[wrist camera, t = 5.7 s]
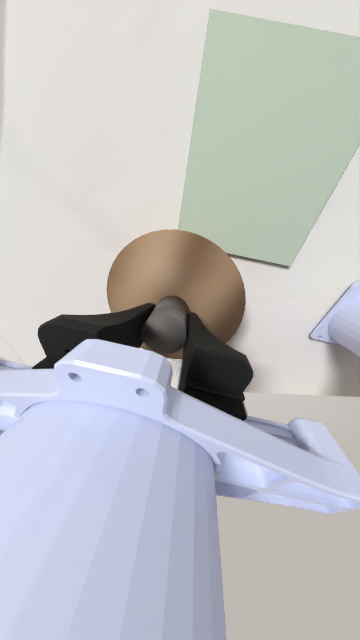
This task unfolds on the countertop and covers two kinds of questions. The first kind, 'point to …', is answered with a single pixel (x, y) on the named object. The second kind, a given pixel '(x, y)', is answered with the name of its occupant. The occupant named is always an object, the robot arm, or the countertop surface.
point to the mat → (269, 133)
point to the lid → (177, 288)
